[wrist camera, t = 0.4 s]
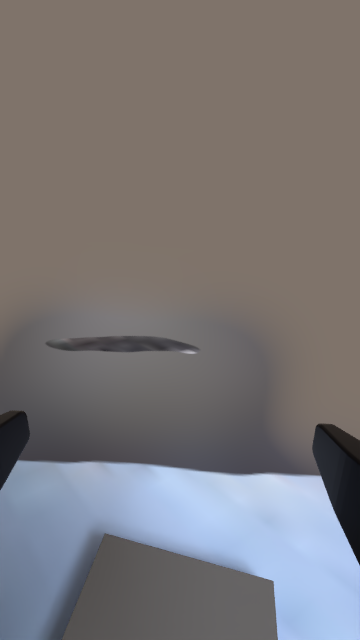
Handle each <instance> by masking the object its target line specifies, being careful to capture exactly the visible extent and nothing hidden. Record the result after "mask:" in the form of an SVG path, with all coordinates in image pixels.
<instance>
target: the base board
mask: <svg viewBox="0 0 360 640" xmlns="http://www.w3.org/2000/svg"><path fill="white" fill-rule="evenodd" d="M62 640H278V637H277V623H276V610H275V597H274V583H273V581H272V580H268V579H264V578H261V577H257V576H254V575H250V574H247V573H243V572H240V571H236V570H233V569H229V568H226V567H222V566H219V565H215V564H212V563H208V562H204V561H201V560H197V559H194V558H190V557H187V556H183V555H180V554H176V553H173V552H169V551H166V550H162V549H159V548H155V547H152V546H148V545H144V544H141V543H137V542H134V541H130V540H127V539H123V538H120V537H116V536H113V535H109V534H106V533H105V535H104V537H103V540H102V542H101V544H100V547H99V549H98V552H97V554H96V557H95V559H94V562H93V564H92V566H91V569H90V571H89V574H88V576H87V579H86V581H85V584H84V586H83V588H82V591H81V593H80V596H79V598H78V601H77V603H76V606H75V608H74V610H73V613H72V615H71V618H70V620H69V623H68V625H67V628H66V630H65V632H64V635H63V637H62Z"/></svg>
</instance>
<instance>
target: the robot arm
mask: <svg viewBox="0 0 360 640" xmlns="http://www.w3.org/2000/svg"><path fill="white" fill-rule="evenodd" d="M29 436H30V431H29V426H28V420H27V415H26V413H25V412H24V411H9V412H6V413H4V414H2V415H0V490H1V488H2V487H3V485H4V483H5V482H6V480H7V478H8V476H9V474H10V473H11V471H12V469H13V467H14V465H15V464H16V462H17V460H18V458H19V456H20V455H21V453H22V451H23V449H24V447H25V446H26V444H27V442H28V440H29ZM312 449H313V455H314V457H315V460H316V463H317V466H318V469H319V471H320V474H321V477H322V480H323V482H324V485H325V488H326V491H327V493H328V496H329V499H330V501H331V504H332V507H333V509H334V511H335V514H336V516H337V518H338V520H339V523H340V525H341V527H342V529H343V531H344V533H345V535H346V537H347V539H348V542H349V544H350V546H351V548H352V550H353V552H354V554H355V556H356V558H357V561H358V563H359V565H360V440H358V439H356V438H355V437H353V436H351V435H350V434H348V433H346V432H345V431H343V430H341V429H340V428H338V427H336V426H335V425H332V424H318V425H317V426H316V429H315V435H314V440H313V447H312Z"/></svg>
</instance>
